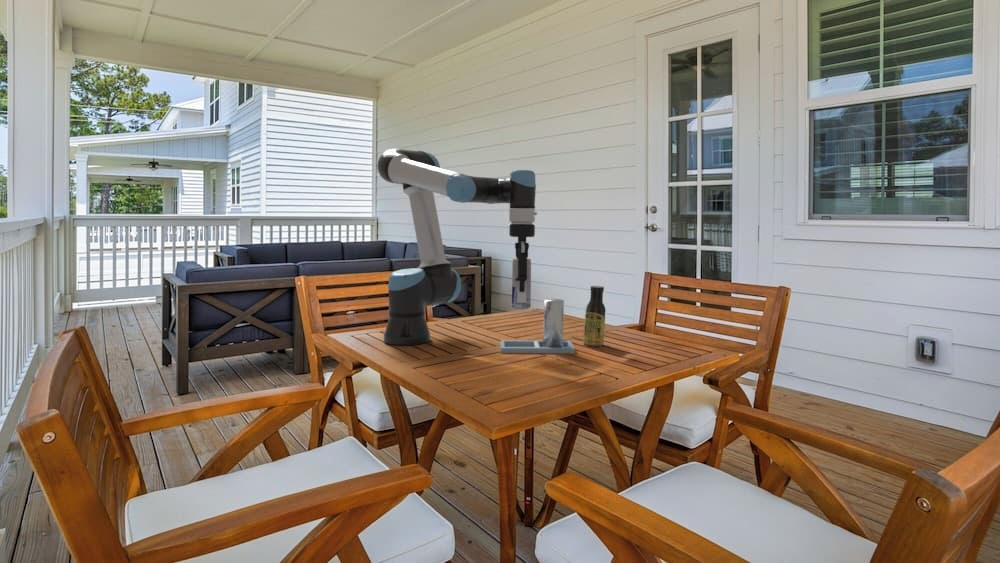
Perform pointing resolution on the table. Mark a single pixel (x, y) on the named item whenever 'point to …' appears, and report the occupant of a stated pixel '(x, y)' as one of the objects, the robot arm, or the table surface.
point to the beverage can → (514, 286)
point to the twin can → (553, 323)
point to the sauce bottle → (595, 319)
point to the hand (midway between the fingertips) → (521, 300)
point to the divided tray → (533, 347)
